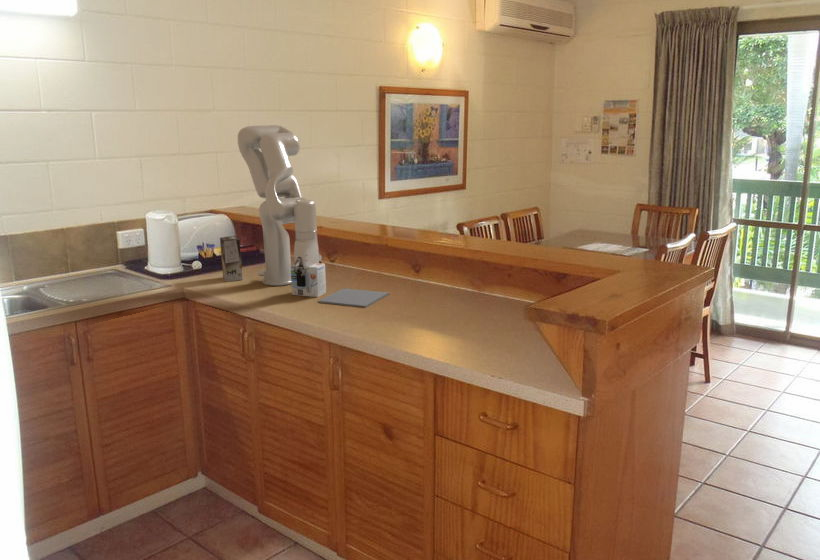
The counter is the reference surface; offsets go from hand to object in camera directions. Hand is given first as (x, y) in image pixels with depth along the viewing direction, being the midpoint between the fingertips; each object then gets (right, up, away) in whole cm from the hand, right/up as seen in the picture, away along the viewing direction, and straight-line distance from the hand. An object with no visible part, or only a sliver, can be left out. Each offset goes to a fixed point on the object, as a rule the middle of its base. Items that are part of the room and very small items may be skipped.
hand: (308, 283), depth 242 cm
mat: (+17, -5, -6) cm, 18 cm away
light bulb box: (0, -4, +1) cm, 4 cm away
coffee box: (-34, +2, +26) cm, 42 cm away
